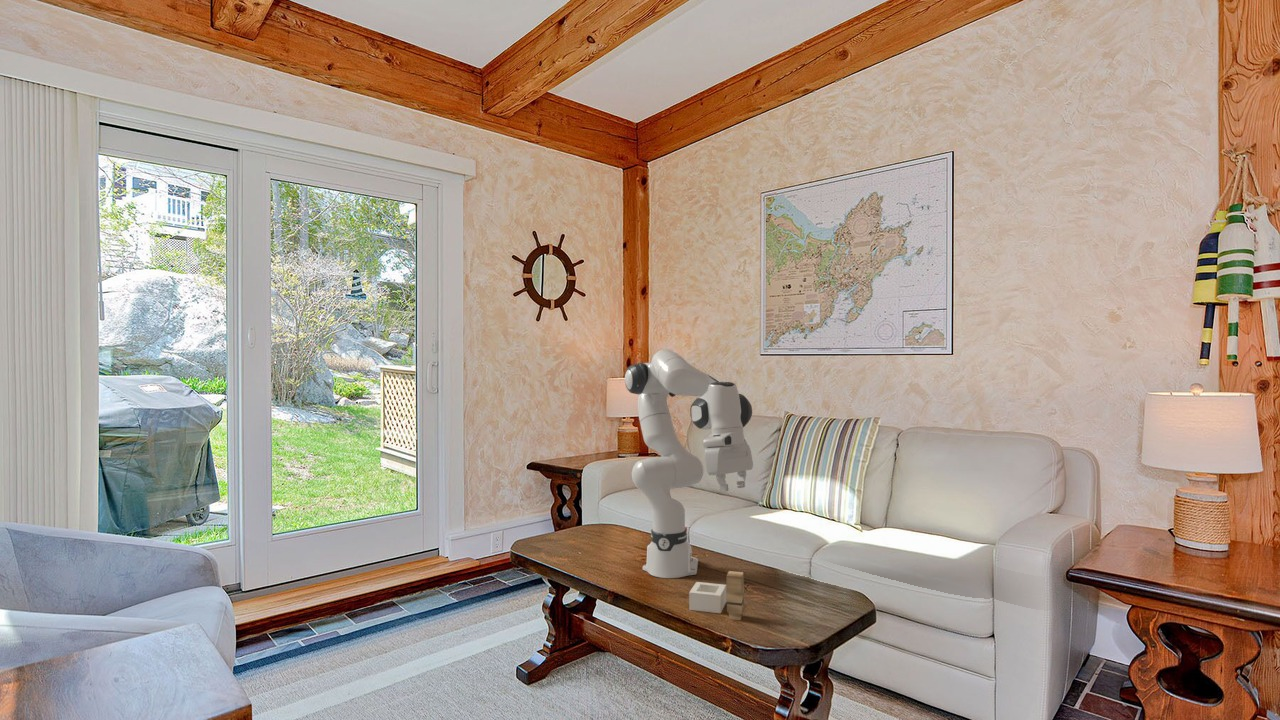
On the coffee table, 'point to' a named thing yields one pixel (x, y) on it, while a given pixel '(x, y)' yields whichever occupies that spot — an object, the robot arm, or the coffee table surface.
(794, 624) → the coffee table surface
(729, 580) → the oak peg
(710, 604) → the socket board
